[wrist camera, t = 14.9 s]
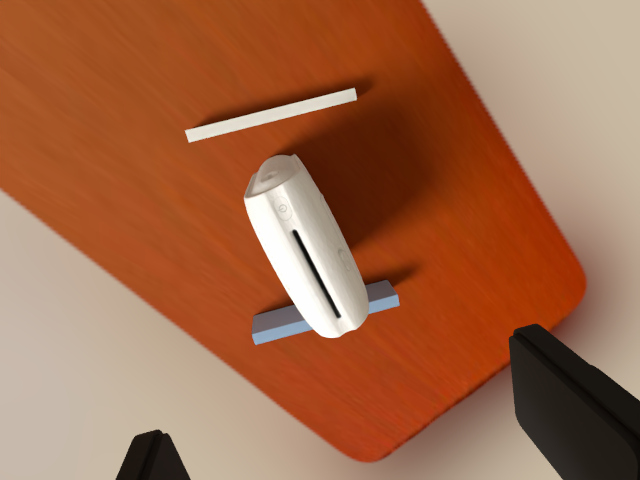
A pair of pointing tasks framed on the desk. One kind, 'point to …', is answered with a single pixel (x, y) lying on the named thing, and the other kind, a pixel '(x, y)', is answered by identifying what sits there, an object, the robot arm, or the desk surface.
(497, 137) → the desk surface
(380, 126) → the desk surface
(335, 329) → the photo printer
